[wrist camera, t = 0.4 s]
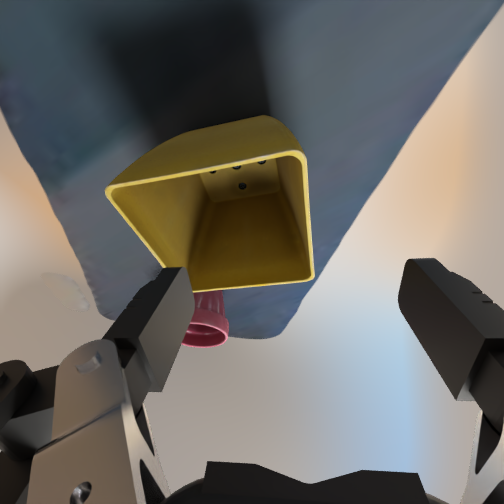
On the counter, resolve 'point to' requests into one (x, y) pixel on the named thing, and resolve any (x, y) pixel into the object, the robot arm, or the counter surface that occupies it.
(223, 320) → the plant pot
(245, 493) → the robot arm
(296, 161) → the flower pot
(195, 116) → the counter surface
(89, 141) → the counter surface
